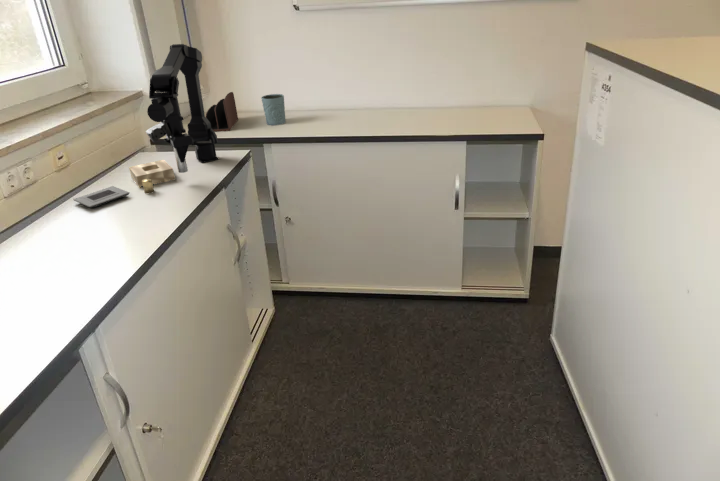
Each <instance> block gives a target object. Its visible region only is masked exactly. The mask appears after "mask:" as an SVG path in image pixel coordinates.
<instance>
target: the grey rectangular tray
mask: <svg viewBox="0 0 720 481" xmlns="http://www.w3.org/2000/svg"><path fill="white" fill-rule="evenodd" d="M129 194H130V192H129V191H127V190H125V189H121V188H120V187H117V186H113V185H112V186H108V187H106V188H102V189H100V190H96V191H93V192H90V193H88V194H84V195H82V196H79V197H75V198H73V201H75V202H76V203H78V204H81V205H84V206H85V207H88V208H90V209H94V208H97V207H98V206H101V205H104V204H107V203H111V202H112V201H116V200H118V199H121V198H123V197H127V196H129Z"/></svg>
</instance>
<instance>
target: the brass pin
mask: <svg viewBox="0 0 720 481" xmlns="http://www.w3.org/2000/svg"><path fill="white" fill-rule="evenodd" d="M142 184H143V187H142V188H143V191H144V194H146V193H149V194H153V193H154V192H155V189H154V185H153V183H152V179H144V180H142ZM152 192H153V193H152Z"/></svg>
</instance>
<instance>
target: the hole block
mask: <svg viewBox="0 0 720 481" xmlns="http://www.w3.org/2000/svg"><path fill="white" fill-rule="evenodd" d="M128 169H129V173H130V177H131V179H132V178H133V179H132V180H133V182H134V181H135V182H136V183H135V182H134V183H135V184H136V186H137V185H138V186H139V187H141V186H143V184H142V180H144V179H152V183H153V184H154V185H158V184H162V183H166V182H170V180H171V181H174V179H175V180H176V177H175V173H174V168H173V167H172V166H171V165H170V164H169V163H168V162H167V161H166V160H165V159H161V160H157V161H151V162H146V163H142V164H137V165H136V164H135V165H133V166H129V167H128ZM161 182H162V183H161ZM157 183H158V184H157ZM138 186H137V187H138ZM139 187H138V188H139ZM141 188H142V187H141Z"/></svg>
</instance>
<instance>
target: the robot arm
mask: <svg viewBox="0 0 720 481" xmlns="http://www.w3.org/2000/svg"><path fill="white" fill-rule="evenodd" d="M202 62H203V54H202V52H201V51H200V50H199V49H198V47H194V46H193V47H192V46H189V45H187V44H184V43H175V44H172V45H171V44H170V45H169V52H168V54H167V55H166V58H165V59H164V62H163V64H162V66H161V67H159V68H158V69H156V70H154V72H153V73H152V74H151V76H150V79H149V93H148V94H149V95H148V98H149V100H150V101H151V104H149V105H148V107H147V111H146V112H147V117H148V118H149V119H150V120H152V121H153V122H156V124H155V125H153V126H151V127H150V128H148V129H146V130H145V133H146V135H147V136H148V138H149V139H150V141H152V142H153V143H157V142H158V141H159V140H160V139H161V138H163V141H164V142H166V143H168V144H169V145H170V146H171V148H172V151H173V152H174V148H175V149H176V152H177V154H178V157H179V159H180V162H181V163H182V162H184V161H185V159H186V157H187V153H188V149H189V146H190V145H191V146H195V148H194V152H195V158H196V160H197V161H199V162H200V163H208V162H213V161H217V160H219V157H218V156H217V150H216V147H215V145H216V144H218V134H216V132H214V131H213V129H212V128H211V123H210V122H209V121H208V119H207V118H206V113H205V109H204V108H205V107H204V101H203V97H202V96H203V95H202V88H201V82H200V81H201V80H200V75H199V74H200V72H201V69H202V68H203V64H202ZM179 72H181V73H182V74H183V75H184V80H185V86H186V92H187V98H188V99H187V100H188V104H189V111H190V116H191V117H190V120H189V123H187V132H186V128H184V123H183V121H184V116H182V113H181V108H180V103H179V100H178V99H179V98H178V97H179V92H178V91H179V85H180V80H179V79H178V74H179ZM164 137H166V138H164ZM173 147H174V148H173Z"/></svg>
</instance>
